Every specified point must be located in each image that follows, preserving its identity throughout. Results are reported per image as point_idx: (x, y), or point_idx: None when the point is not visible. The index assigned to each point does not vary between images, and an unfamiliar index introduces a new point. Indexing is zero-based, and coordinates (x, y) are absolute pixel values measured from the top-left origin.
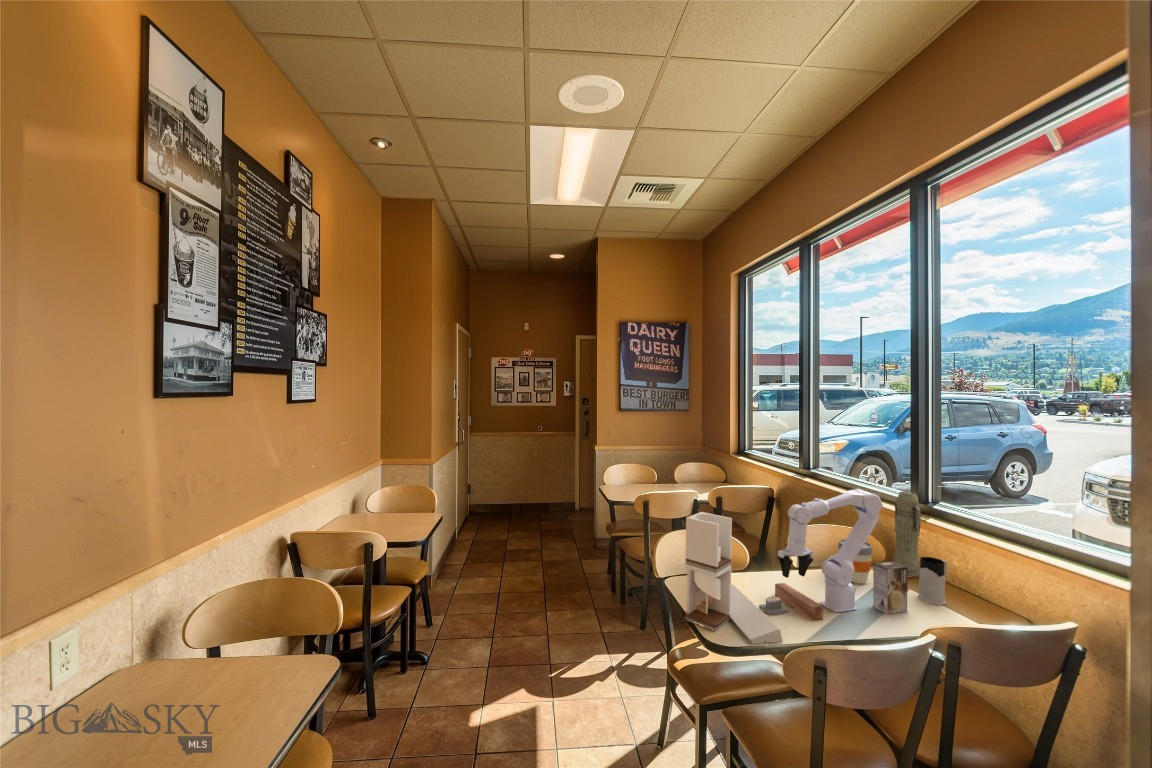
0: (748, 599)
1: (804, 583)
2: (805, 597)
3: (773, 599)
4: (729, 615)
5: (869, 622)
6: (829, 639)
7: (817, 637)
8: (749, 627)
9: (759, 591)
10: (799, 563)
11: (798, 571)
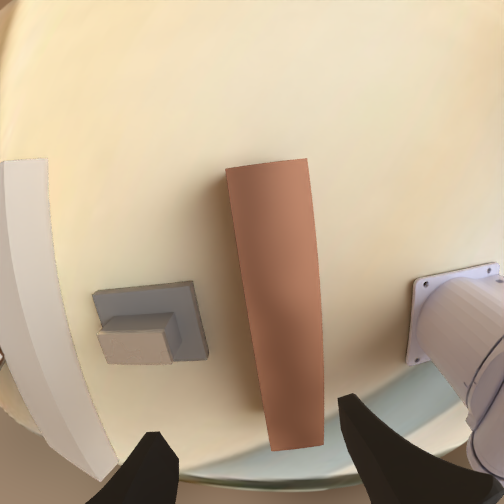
0: (29, 333)
1: (465, 67)
2: (306, 381)
3: (128, 353)
4: (1, 358)
5: (442, 409)
6: (249, 476)
7: (220, 469)
8: (43, 426)
9: (176, 105)
10: (378, 472)
11: (345, 411)
